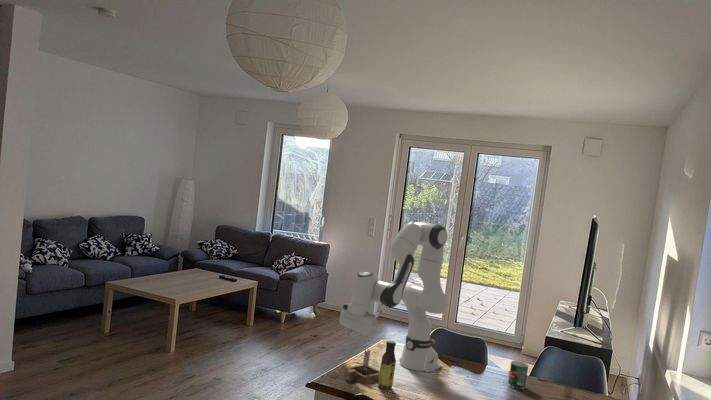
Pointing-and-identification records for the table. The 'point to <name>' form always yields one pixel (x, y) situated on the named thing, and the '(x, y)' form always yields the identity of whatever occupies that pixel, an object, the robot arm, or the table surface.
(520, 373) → the canned tomato
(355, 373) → the wooden frame with handle
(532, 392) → the table surface
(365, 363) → the grey plunger shape
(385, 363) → the sauce bottle
